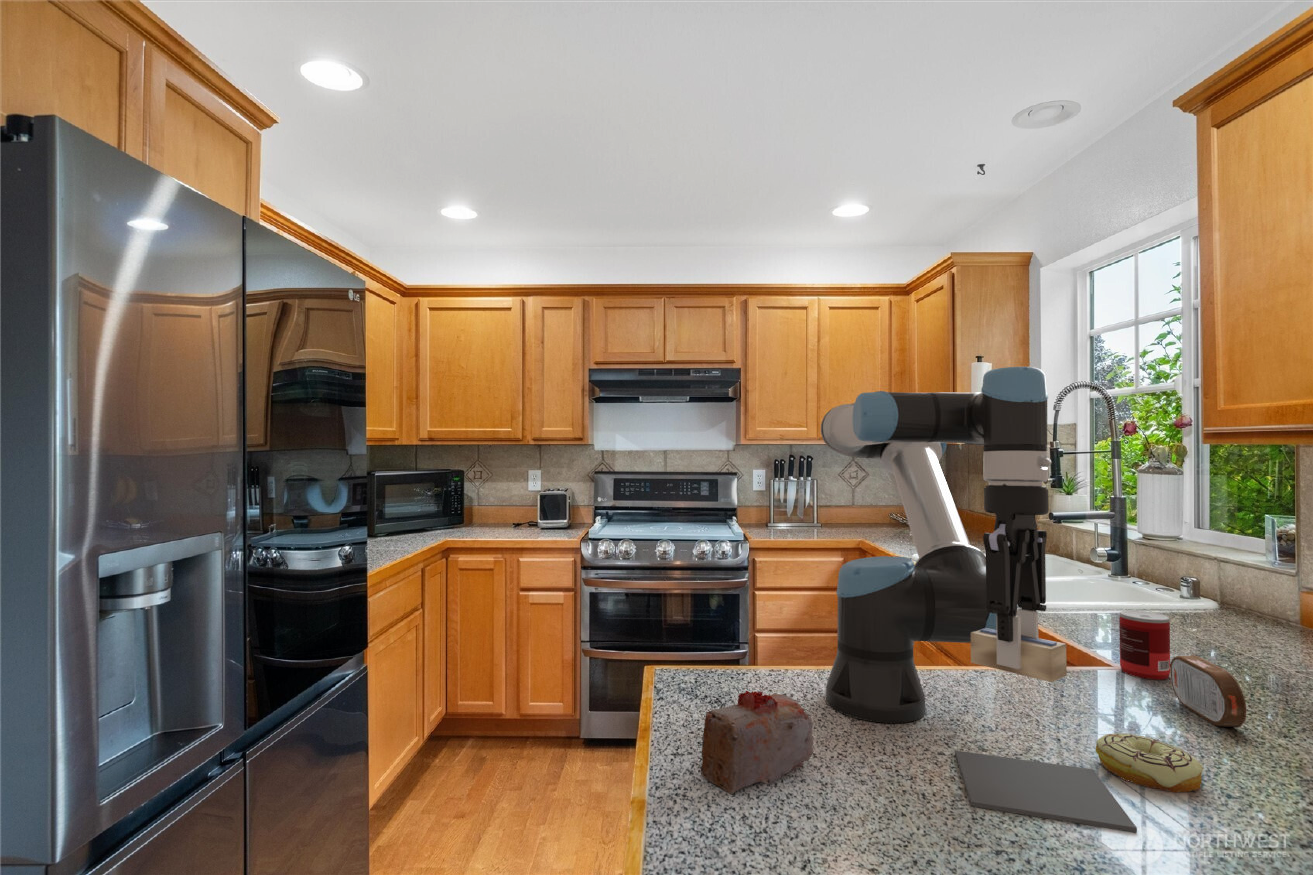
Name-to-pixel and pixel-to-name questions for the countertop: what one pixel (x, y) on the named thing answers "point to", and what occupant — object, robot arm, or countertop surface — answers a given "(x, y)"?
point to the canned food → (1144, 644)
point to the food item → (755, 741)
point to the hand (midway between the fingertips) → (1017, 662)
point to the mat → (1040, 790)
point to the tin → (1208, 691)
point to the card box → (1022, 655)
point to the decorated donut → (1149, 762)
